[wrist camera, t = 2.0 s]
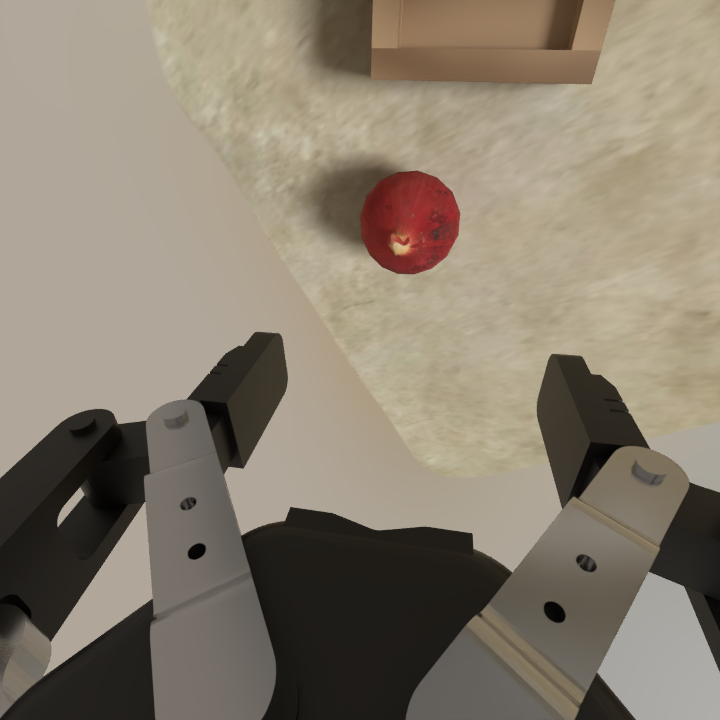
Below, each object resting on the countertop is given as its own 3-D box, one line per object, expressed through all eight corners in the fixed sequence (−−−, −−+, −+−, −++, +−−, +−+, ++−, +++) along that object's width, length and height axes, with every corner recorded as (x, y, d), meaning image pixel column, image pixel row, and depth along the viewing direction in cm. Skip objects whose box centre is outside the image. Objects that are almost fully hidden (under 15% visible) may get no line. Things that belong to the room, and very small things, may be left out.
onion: (462, 159, 25) (463, 187, 19) (456, 250, 28) (455, 301, 22) (370, 162, 26) (340, 190, 20) (373, 249, 29) (350, 298, 23)
